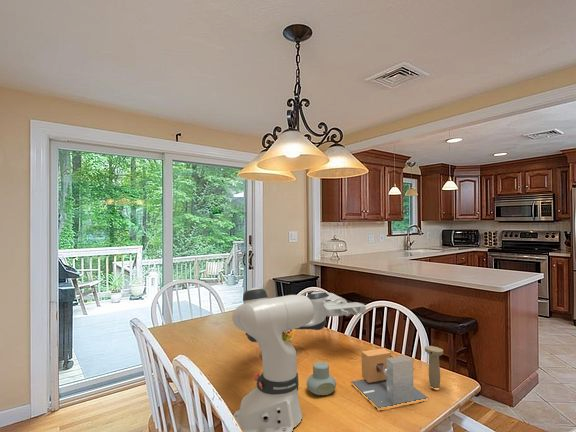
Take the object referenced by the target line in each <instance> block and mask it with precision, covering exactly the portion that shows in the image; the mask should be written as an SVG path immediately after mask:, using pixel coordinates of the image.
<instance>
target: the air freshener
mask: <svg viewBox="0 0 576 432" xmlns="http://www.w3.org/2000/svg"><path fill="white" fill-rule="evenodd" d="M312 370H313V371H312V374H310V376H309V377H308V378H307V379H306V387H307V389H308V390H309V392H311V393H312V394H314V395H316V396H320V395H326V396H327V395H330V394H332V393H333V392H334V391H335V389H336V386H337V381H336V379H335V378H334V377H333V376H332V375H331V374H330V366H329V363H327V362H325V361H316V362H315V363H313V365H312Z"/></svg>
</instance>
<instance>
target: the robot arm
mask: <svg viewBox="0 0 576 432" xmlns="http://www.w3.org/2000/svg"><path fill="white" fill-rule="evenodd" d="M242 302H243V303H242V304H240V305H238V307H236V308H235V309H234V311H233V312H232V317H231V318H232V319H231V320H232V323H233V325H234V327H235V328H237V329H238V330H240V331H243V332H245V335H246V338H247V339H248V340H249V341H250V342H252V343H256V344H258V346H259V348H260V351H261V356H262V357H261V359H262V373H261V374H259V373H258V372H255V373H253V376H252V377H253V380H254V381H255V382H256V386H255V387H254V388H253V389H252V390H250V391H249V392H248V393H247V394H246V395H245V396H243V398H241V399H242V400H241V402H240V406H239V409H238V410H235V412H234V414H233V415H232V417H233V416H234V418H235V419H236V421H237V422H238V424H239V425H240V427H241V429H242V430H243V432H292V431H293V428H294V426H295V425H297V424H298V423H299V422H300V421H301V419H302V420H303V418H302V417H303V413H302V410H301V405H300V401H299V392H298V391H299V386H300V385H299V383H300V382H299V379H300V378H299V373H298V372H297V370H298V369H297V365H298V364H297V360H298V359H297V351H296V349H295V347H294V345H293V344H292V343H290V342H288V341H286V340H283V333H284V332H287V331H292V330H311V331H321V330H323V328H324V327H326V325H327V318H326V317H337V316H338V317H342V316H345V317H349V316H350V315H353V316H357V315H358V314H365V313H366V312H367V307H366V304H364V303H362V302H356V301H354V302H348V301H347V300H346V299H345V298H343V297H341V296H339V295H337V294H335V293H333V292H326V291H324V290H315V291H311V292H310V293H309V294H307V295H304V294H288V295H283V296H276V297H269V298H268V293H267V291H266V290H265V289H264V288H260V287H252V288H249V289H247V290H246V291H244V292H243V294H242ZM301 422H302V421H301ZM293 432H294V431H293Z"/></svg>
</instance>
